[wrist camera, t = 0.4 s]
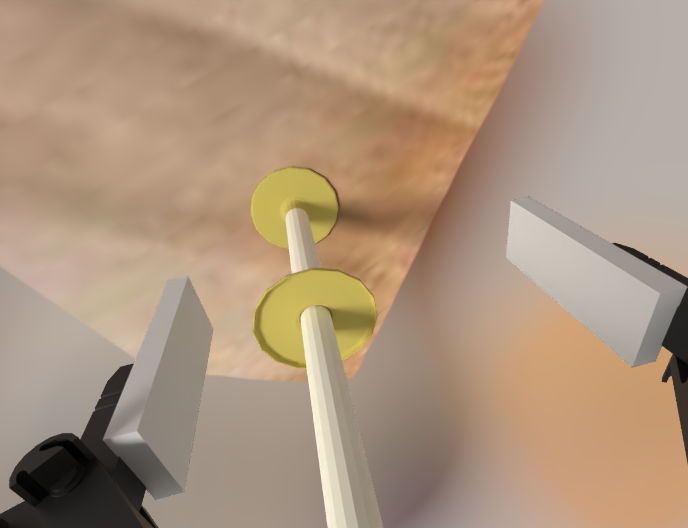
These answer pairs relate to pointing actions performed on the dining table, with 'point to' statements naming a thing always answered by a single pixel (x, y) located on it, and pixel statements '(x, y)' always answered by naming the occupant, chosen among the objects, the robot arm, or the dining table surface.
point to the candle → (318, 333)
